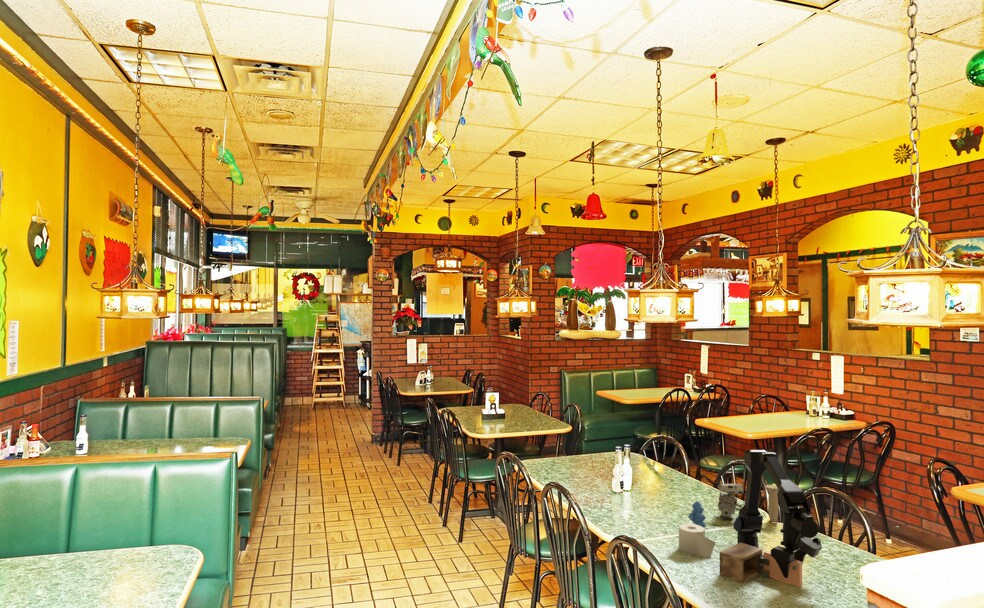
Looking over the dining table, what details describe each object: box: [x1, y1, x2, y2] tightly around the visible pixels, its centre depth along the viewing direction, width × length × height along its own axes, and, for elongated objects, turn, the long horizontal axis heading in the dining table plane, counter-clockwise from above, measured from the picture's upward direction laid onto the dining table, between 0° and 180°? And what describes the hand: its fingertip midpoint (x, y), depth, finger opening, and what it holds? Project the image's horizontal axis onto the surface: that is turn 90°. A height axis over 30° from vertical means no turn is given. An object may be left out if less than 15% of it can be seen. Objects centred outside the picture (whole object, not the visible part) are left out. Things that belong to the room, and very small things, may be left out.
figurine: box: [717, 482, 745, 521], centre depth 267 cm, size 9×12×15 cm
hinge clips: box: [758, 553, 770, 579], centre depth 207 cm, size 4×5×6 cm
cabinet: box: [719, 542, 763, 584], centre depth 207 cm, size 8×14×8 cm, turn 129°
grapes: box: [687, 500, 707, 529], centre depth 249 cm, size 12×7×12 cm, turn 178°
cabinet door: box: [763, 550, 803, 588], centre depth 202 cm, size 12×2×8 cm, turn 40°
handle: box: [764, 484, 779, 523], centre depth 262 cm, size 5×6×15 cm
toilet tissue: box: [678, 523, 716, 558], centre depth 227 cm, size 9×13×9 cm
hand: (792, 574), depth 200 cm, fingers open, 9 cm apart
